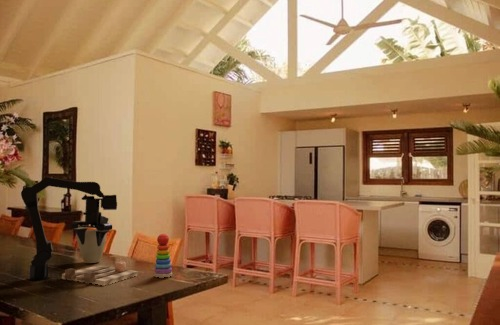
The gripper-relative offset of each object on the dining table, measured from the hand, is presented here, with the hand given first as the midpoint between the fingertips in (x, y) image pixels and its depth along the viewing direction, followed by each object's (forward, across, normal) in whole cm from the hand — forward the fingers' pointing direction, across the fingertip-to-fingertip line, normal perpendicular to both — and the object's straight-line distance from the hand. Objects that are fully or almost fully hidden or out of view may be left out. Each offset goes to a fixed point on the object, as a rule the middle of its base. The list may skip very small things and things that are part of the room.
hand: (90, 245), depth 187 cm
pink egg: (+11, -13, -5) cm, 17 cm away
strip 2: (+12, -12, +3) cm, 17 cm away
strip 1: (+12, -1, +3) cm, 12 cm away
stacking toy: (+13, -30, -13) cm, 35 cm away
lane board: (+13, -7, +1) cm, 15 cm away
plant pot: (+13, +18, -20) cm, 30 cm away
